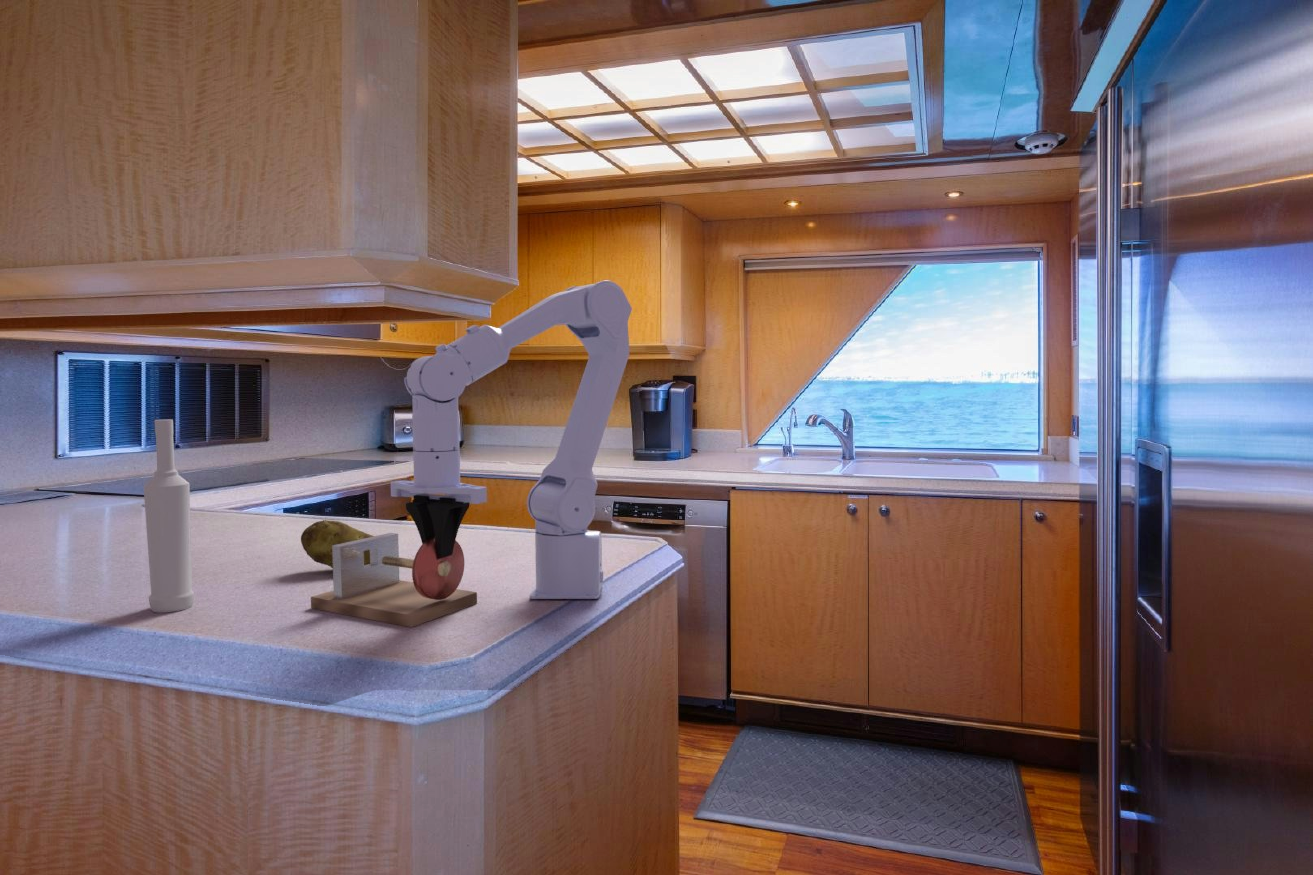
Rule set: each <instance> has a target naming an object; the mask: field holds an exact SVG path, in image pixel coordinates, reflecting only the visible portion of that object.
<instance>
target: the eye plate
mask: <svg viewBox="0 0 1313 875" xmlns="http://www.w3.org/2000/svg"><path fill="white" fill-rule="evenodd" d="M373 536H374V537H369V538H364V539H360V540H355V541H351V542H346V543H342V544H337V545H333V546H332V553H333V568H332V576H333V577H332V578H333V579H332V580H333V591H334V598H336V599H341V600H342V599H346V598H349V597H352V596H356V595H359V594H362V593H366V592H369V591H373V590H376V589H379V588H383V587H386V586H390V585H393V584H396V583H399V580H400V567H397V566H390V565H384V564H383V563H382V561H381V560H382V558H383V557H384V556H392V557H399V558H400V552H399V546H400V545H399V533H397V532H396V533H395V532H388V533H383V534H379V535H373ZM366 550H370V564H368V565H364V551H366Z"/></svg>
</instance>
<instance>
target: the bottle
mask: <svg viewBox="0 0 1313 875" xmlns="http://www.w3.org/2000/svg"><path fill="white" fill-rule="evenodd" d="M154 433H155V434H154V435H155V446H156V447H155V448H156V449H155V450H156V451H155V452H156V468H157V469H156V471H154V472H153V474H154V475H153V476H152V477H151V478H150V479H149V480H148V481H147V482H146V483H144V485H143V500H144V512H145V523H146V524H145V526H146V528H145V529H146V538H147V539H146V541H147V550H148V551H147V553H148V554H147V555H148V568H149V580H150V582H149V583H150V595H149V596H148V602H149V603H148V604H149V607H150V610H151V612H153V613H160V614H161V613H173V612H180V611H183V610H187V609H189V608H192V607H193V605H194V604H195V603H194V602H195V591H194V590H193V589H192V585H193V584H192V545H191V544H192V541H191V540H192V539H191V494H190V492H191V491H190V488H191V486H190V482H188V481H187V480H186V479H185V478H183V477H182V476H181V475H180V474H179V471H178V470H177V469H176V467H175V450H174V449H175V447H174V445H175V444H174V420H173V419H171V418H170V419H169V418H168V419H154Z"/></svg>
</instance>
